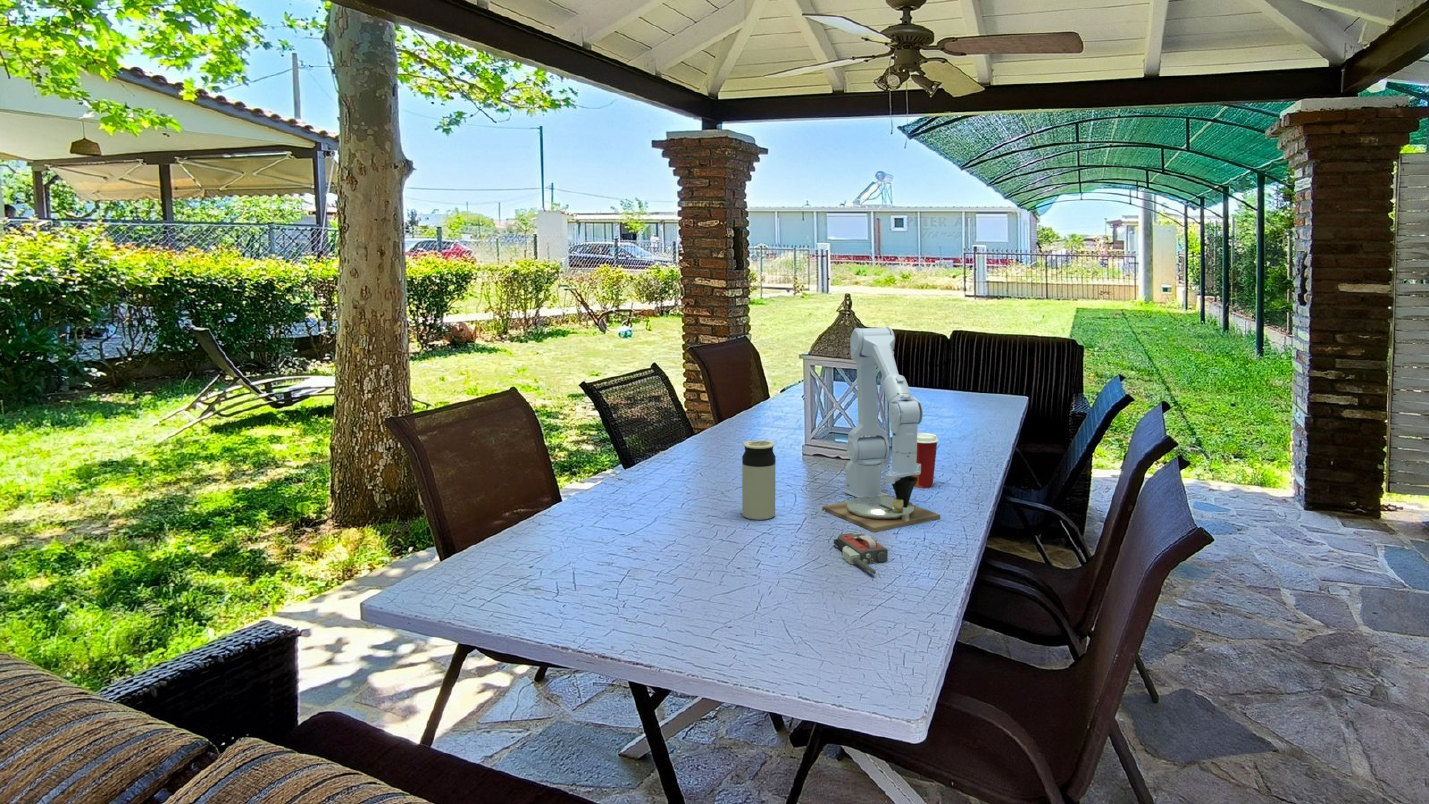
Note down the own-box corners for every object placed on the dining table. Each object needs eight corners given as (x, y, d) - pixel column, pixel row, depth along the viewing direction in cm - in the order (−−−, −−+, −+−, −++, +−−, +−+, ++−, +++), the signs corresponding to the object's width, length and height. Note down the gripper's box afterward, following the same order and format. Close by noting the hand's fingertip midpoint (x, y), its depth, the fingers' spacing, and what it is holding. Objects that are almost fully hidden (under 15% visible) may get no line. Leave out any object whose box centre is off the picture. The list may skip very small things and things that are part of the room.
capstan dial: (833, 505, 215) (834, 489, 214) (884, 496, 222) (885, 480, 221) (874, 522, 201) (875, 505, 200) (928, 512, 208) (928, 495, 208)
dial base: (822, 510, 216) (822, 500, 215) (885, 498, 225) (885, 489, 225) (874, 532, 198) (874, 522, 198) (940, 518, 208) (940, 509, 207)
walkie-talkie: (824, 547, 189) (869, 580, 171) (824, 528, 188) (869, 558, 170) (860, 543, 192) (908, 574, 173) (861, 524, 191) (909, 553, 173)
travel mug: (781, 515, 212) (782, 443, 208) (760, 522, 206) (760, 448, 203) (756, 509, 217) (756, 438, 214) (735, 516, 211) (735, 443, 208)
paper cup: (940, 484, 239) (942, 434, 236) (931, 490, 232) (933, 439, 230) (912, 480, 243) (914, 431, 240) (903, 486, 236) (904, 436, 234)
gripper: (906, 459, 197) (904, 517, 199) (933, 447, 208) (931, 502, 210) (878, 454, 201) (876, 511, 203) (906, 444, 212) (904, 497, 215)
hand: (902, 506), depth 207 cm, fingers closed
